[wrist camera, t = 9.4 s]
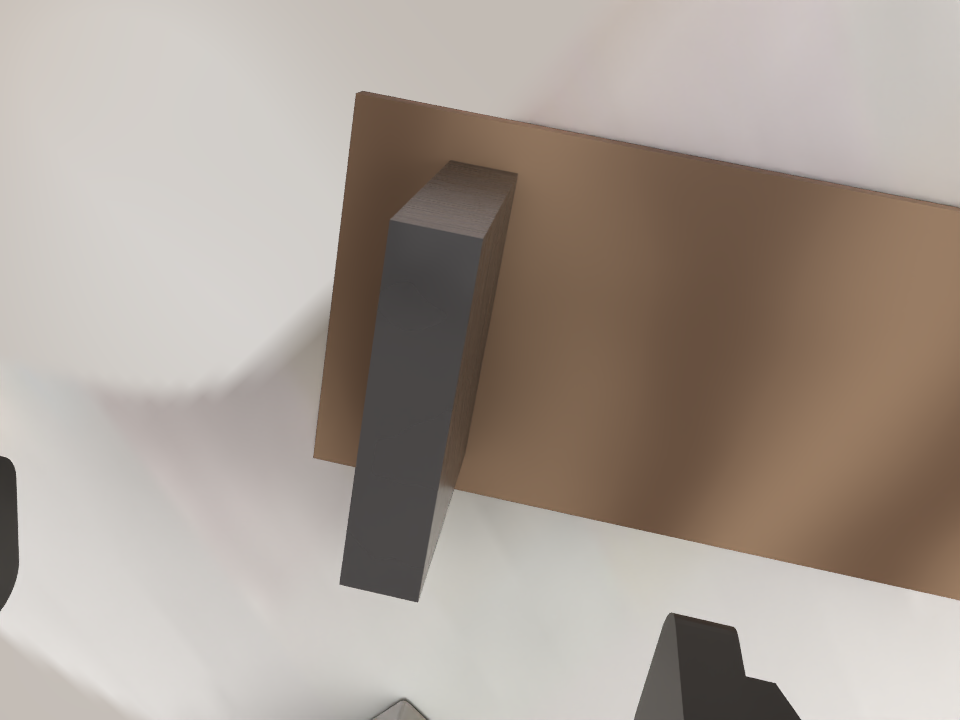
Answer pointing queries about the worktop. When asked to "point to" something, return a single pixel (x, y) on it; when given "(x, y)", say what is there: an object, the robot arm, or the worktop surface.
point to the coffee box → (400, 713)
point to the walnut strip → (638, 349)
